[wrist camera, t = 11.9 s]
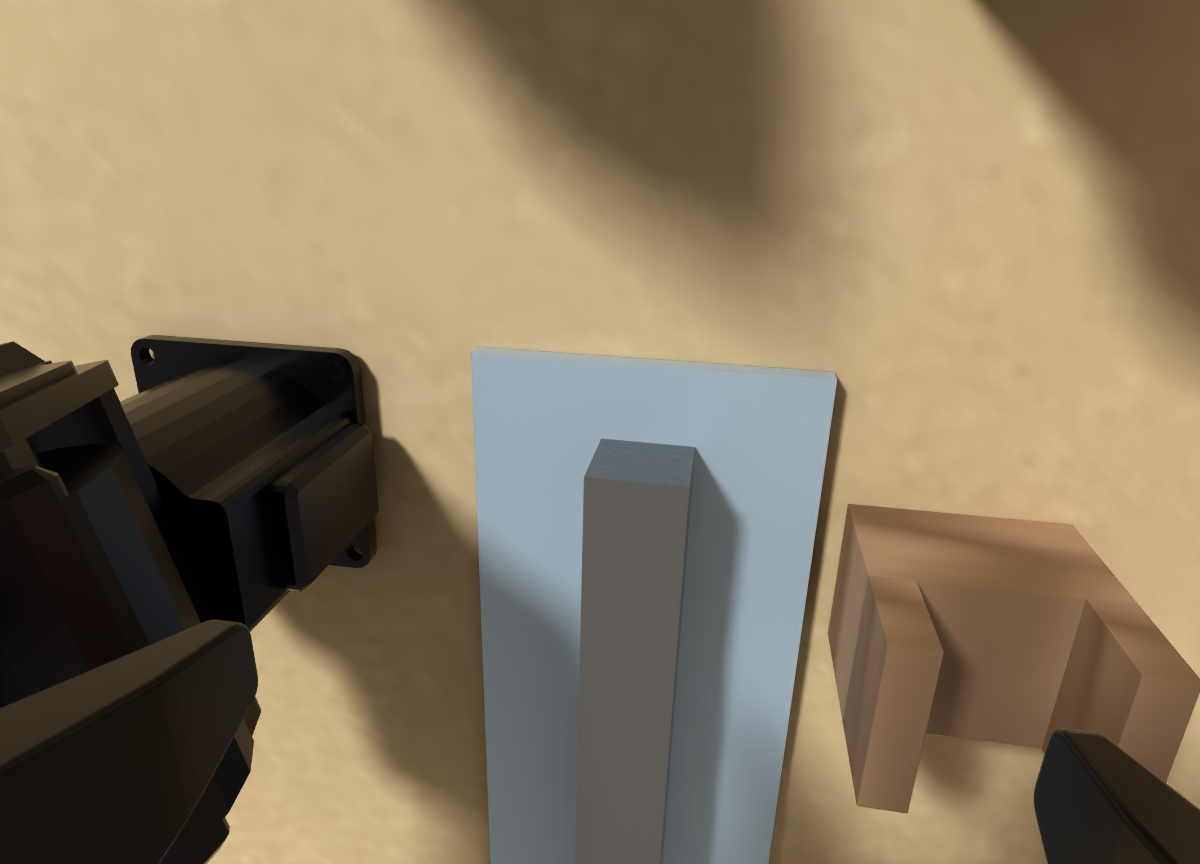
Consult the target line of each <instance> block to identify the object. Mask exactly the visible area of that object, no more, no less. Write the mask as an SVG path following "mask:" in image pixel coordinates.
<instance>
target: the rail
mask: <svg viewBox="0 0 1200 864" xmlns="http://www.w3.org/2000/svg"><path fill="white" fill-rule="evenodd" d="M694 456H695V447H691V446H680V445H669V444H658V443H647V442H636V441H625V440H613V439H602V438H601V440H600V442H599V445H598V447H597V449H596V451H595V453H594V456H593V458H592V460H591V462H590V464H589V467H588V469H587V471H586V473H585V476H584V494H583V538H582V582H581V626H580V670H579V714H578V758H577V802H576V846H575V864H662V860H663V848H664V835H665V822H666V810H667V797H668V784H669V772H670V759H671V746H672V734H673V721H674V708H675V696H676V683H677V671H678V658H679V645H680V633H681V620H682V607H683V595H684V582H685V569H686V557H687V544H688V531H689V519H690V506H691V494H692V481H693V468H694Z"/></svg>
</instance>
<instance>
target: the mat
mask: <svg viewBox="0 0 1200 864" xmlns="http://www.w3.org/2000/svg"><path fill="white" fill-rule="evenodd" d="M471 363H472V390H473V416H474V443H475V470H476V496H477V523H478V550H479V576H480V603H481V630H482V656H483V683H484V710H485V736H486V763H487V790H488V816H489V843H490V864H575V846H576V802H577V758H578V714H579V670H580V626H581V582H582V538H583V494H584V476H585V473H586V471H587V469H588V467H589V464H590V462H591V460H592V458H593V456H594V453H595V451H596V449H597V447H598V445H599V442H600V440H601V438H602V439H613V440H625V441H636V442H647V443H658V444H669V445H680V446H691V447H695V456H694V468H693V481H692V494H691V506H690V519H689V531H688V544H687V557H686V569H685V582H684V595H683V607H682V620H681V633H680V645H679V658H678V671H677V683H676V696H675V708H674V721H673V734H672V746H671V759H670V772H669V784H668V797H667V810H666V822H665V835H664V848H663V860H662V864H768V863H769V856H770V849H771V842H772V835H773V828H774V821H775V814H776V807H777V800H778V793H779V786H780V779H781V772H782V765H783V758H784V751H785V744H786V737H787V730H788V722H789V715H790V708H791V701H792V694H793V687H794V680H795V673H796V666H797V659H798V652H799V645H800V638H801V631H802V624H803V617H804V610H805V603H806V596H807V589H808V582H809V575H810V568H811V561H812V554H813V546H814V539H815V532H816V525H817V518H818V511H819V504H820V497H821V490H822V483H823V476H824V469H825V462H826V455H827V448H828V441H829V434H830V427H831V420H832V413H833V406H834V399H835V392H836V385H837V377H836V375H835V372H827V371H812V370H798V369H784V368H770V367H755V366H741V365H727V364H713V363H699V362H684V361H670V360H656V359H642V358H627V357H613V356H599V355H585V354H570V353H556V352H542V351H528V350H514V349H499V348H485V347H478V348H477V349H476V350H474V351H473V352H472V353H471Z"/></svg>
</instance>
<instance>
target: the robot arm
mask: <svg viewBox="0 0 1200 864" xmlns="http://www.w3.org/2000/svg"><path fill="white" fill-rule="evenodd" d="M149 349H151V350H152V351H153V352H154V353H155V356H156V360H154V359H153V358H152V357H151V355H150V353H149ZM131 357H132V362H133V367H134V372H135V377H136V382H137V387H138V392H139V394H137V395H135V396H133V397H130V398H128V399H126V400H124V401H121V402H120V401H119V399H118V396H117V394H116V392H115V390H114V387H116V386H118V385H119V384H118V382H117V380H116V378H115V375H114V373H113V371H112V368H111V366H110V364H109V362H108V360H103V361H98V362H93V363H88V364H83V365H78V366H74V365H73V362H72V361H65V362H58V363H52V362H51V361H46V362H45V361H44V360H42V359H40V358H39V357H37V356H36V355H34V354H32V353H31V352H29V351H28V350H26V349H25V348H23V347H21V346H20V345H18V344H17V343H15V342H14V341H13V342H9V343H4V344H0V864H207V863H208V862H209V861H210V860H211V858H212V857H213V856H214V855H215V854H216V853H217V852H218V850H219V849H220V848H221V846H222V845H223V843H224V841H225V840H226V838H227V836H228V834H229V828H230V827H229V825H228V822H227V820H226V818H225V817H226V815H227V814H228V813H229V811H230V809H231V807H232V805H233V804H234V802H235V800H236V798H237V796H238V794H239V792H240V790H241V788H242V787H243V785H244V783H245V781H246V779H247V777H248V775H249V773H250V771H251V762H252V754H253V745H254V740H253V738H252V735H253V732H254V730H255V727H256V724H257V721H258V719H259V716H260V713H261V708H260V706H259V704H258V702H257V699H256V697H255V695H256V692H257V687H258V675H257V669H256V663H255V657H254V651H253V645H252V639H251V634H250V631H251V630H252V629H253V628H254V627H255V626H256V625H257V624H258V623H259V622H260V621H261V620H262V619H263V618H264V617H265V616H266V615H267V614H268V613H269V612H270V611H271V610H272V609H273V608H274V607H275V606H276V605H277V604H278V603H279V602H280V600H281V599H282V598H283V597H284V596H285V595H286V594H287V593H288V592H289V591H290V590H293V591H303V590H304V589H306V588H307V587H308V586H309V585H310V584H311V583H312V582H313V581H314V580H315V579H316V578H317V577H318V576H319V575H320V574H321V572H322V571H323V570H324V569H325V568H326V567H327V566H328V565H336V566H344V567H353V568H361V567H364V566H366V565H367V564H368V563H369V562H370V561H371V560H372V558H373V557H374V556H375V554H376V549H377V546H376V536H375V525H374V516H375V515H376V514H377V513H378V510H379V507H378V496H377V485H376V473H375V462H374V451H373V440H372V433H371V432H370V430H369V429H368V427H367V426H366V425H365V416H364V405H363V394H362V384H361V373H360V366H359V362H358V360H357V359H356V357H355V356H354V355H353V354H352V353H351V352H349V351H348V350H344V349H340V348H326V347H312V346H299V345H285V344H271V343H257V342H243V341H230V340H216V339H202V338H188V337H175V336H161V335H151V336H147V337H144V338H141V339H138V340H137V341H135V342H134V343H133V345H132V347H131ZM334 361H335V362H338V363H340V364H341V365H342V366H343V368H344V371H345V373H344V376H342V375H339V374H338V373H337V372H336V371H335V369H334ZM352 545H355V546H358V547H359V548H360V549H361V550H362V553H363V554H360V553H358V552H356V551H355V550H354V548H353V546H352ZM1034 807H1035V813H1036V818H1037V822H1038V826H1039V830H1040V834H1041V838H1042V842H1043V846H1044V851H1045V855H1046V859H1047V863H1048V864H1200V809H1199V808H1197V807H1196V806H1195V805H1193V804H1192V803H1191V802H1190V801H1188V800H1187V799H1186V798H1184V797H1183V796H1182V795H1180V794H1179V793H1178V792H1177V791H1175V790H1174V789H1173V788H1171V787H1170V786H1169V785H1167V784H1166V783H1165V782H1164V781H1162V780H1161V779H1160V778H1158V777H1157V776H1156V775H1154V774H1153V773H1152V772H1151V771H1149V770H1148V769H1147V768H1145V767H1144V766H1143V765H1141V764H1140V763H1139V762H1138V761H1136V760H1135V759H1134V758H1132V757H1131V756H1130V755H1128V754H1127V753H1126V752H1125V751H1123V750H1122V749H1121V748H1119V747H1118V746H1117V745H1115V744H1114V743H1113V742H1112V741H1110V740H1109V739H1108V738H1106V737H1105V736H1103V735H1101V734H1099V733H1096V732H1090V731H1083V730H1075V729H1067V728H1060V729H1057V730H1055V731H1054V732H1053V733H1052V735H1051V737H1050V739H1049V742H1048V745H1047V748H1046V752H1045V755H1044V758H1043V762H1042V765H1041V768H1040V772H1039V775H1038V778H1037V782H1036V785H1035V790H1034Z"/></svg>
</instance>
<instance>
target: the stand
mask: <svg viewBox="0 0 1200 864" xmlns="http://www.w3.org/2000/svg"><path fill="white" fill-rule="evenodd" d="M828 637H829V643H830V649H831V655H832V661H833V667H834V673H835V679H836V684H837V690H838V696H839V702H840V708H841V714H842V720H843V726H844V732H845V738H846V744H847V750H848V756H849V761H850V767H851V773H852V779H853V785H854V791H855V797H856V803H857V806H861V807H867V808H874V809H881V810H888V811H894V812H901V813H908V809H909V804H910V800H911V795H912V791H913V787H914V782H915V778H916V773H917V769H918V764H919V760H920V755H921V751H922V746H923V742H924V738H925V733H932V734H940V735H947V736H955V737H962V738H970V739H977V740H985V741H992V742H1000V743H1007V744H1015V745H1022V746H1030V747H1037V748H1042V749H1043V752H1044V754H1045V752H1046V748H1047V745H1048V742H1049V739H1050V737H1051V735H1052V733H1053V732H1054V731H1055V730H1057V729H1060V728H1067V729H1075V730H1083V731H1090V732H1096V733H1099V734H1101V735H1103V736H1105V737H1106V738H1108V739H1109V740H1110V741H1112V742H1113V743H1114V744H1115V745H1117V746H1118V747H1119V748H1121V749H1122V750H1123V751H1125V752H1126V753H1127V754H1128V755H1130V756H1131V757H1132V758H1134V759H1135V760H1136V761H1138V762H1139V763H1140V764H1141V765H1143V766H1144V767H1145V768H1147V769H1148V770H1149V771H1151V772H1152V773H1153V774H1154V775H1156V776H1157V777H1158V778H1160V779H1161V780H1162V781H1164V782H1165V783H1166V780H1167V778H1168V775H1169V772H1170V770H1171V767H1172V764H1173V762H1174V759H1175V757H1176V754H1177V751H1178V749H1179V746H1180V743H1181V741H1182V738H1183V735H1184V733H1185V730H1186V727H1187V725H1188V722H1189V720H1190V717H1191V714H1192V712H1193V709H1194V706H1195V704H1196V701H1197V698H1198V696H1199V693H1200V678H1199V677H1198V676H1197V675H1196V674H1195V672H1194V671H1193V670H1192V669H1191V667H1190V666H1189V665H1188V664H1187V663H1186V661H1185V660H1184V659H1183V658H1182V657H1181V655H1180V654H1179V653H1178V652H1177V651H1176V649H1175V648H1174V647H1173V646H1172V645H1171V643H1170V642H1169V641H1168V640H1167V638H1166V637H1165V636H1164V635H1163V634H1162V632H1161V631H1160V630H1159V629H1158V628H1157V626H1156V625H1155V624H1154V623H1153V622H1152V620H1151V619H1150V618H1149V617H1148V616H1147V614H1146V613H1145V612H1144V611H1143V610H1142V608H1141V607H1140V606H1139V605H1138V603H1137V602H1136V601H1135V600H1134V599H1133V597H1132V596H1131V595H1130V594H1129V593H1128V591H1127V590H1126V589H1125V588H1124V587H1123V585H1122V584H1121V583H1120V582H1119V581H1118V579H1117V578H1116V577H1115V576H1114V574H1113V573H1112V572H1111V571H1110V570H1109V568H1108V567H1107V566H1106V565H1105V564H1104V562H1103V561H1102V560H1101V559H1100V558H1099V556H1098V555H1097V554H1096V553H1095V552H1094V550H1093V549H1092V548H1091V547H1090V545H1089V544H1088V543H1087V542H1086V541H1085V539H1084V538H1083V537H1082V536H1081V535H1080V533H1079V532H1078V531H1077V530H1076V529H1075V527H1074V526H1073V525H1066V524H1055V523H1044V522H1034V521H1023V520H1013V519H1002V518H991V517H981V516H970V515H959V514H949V513H938V512H927V511H917V510H906V509H896V508H885V507H874V506H864V505H853V504H848V508H847V515H846V521H845V527H844V534H843V540H842V547H841V553H840V559H839V566H838V572H837V578H836V585H835V591H834V598H833V604H832V610H831V617H830V623H829V629H828Z"/></svg>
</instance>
